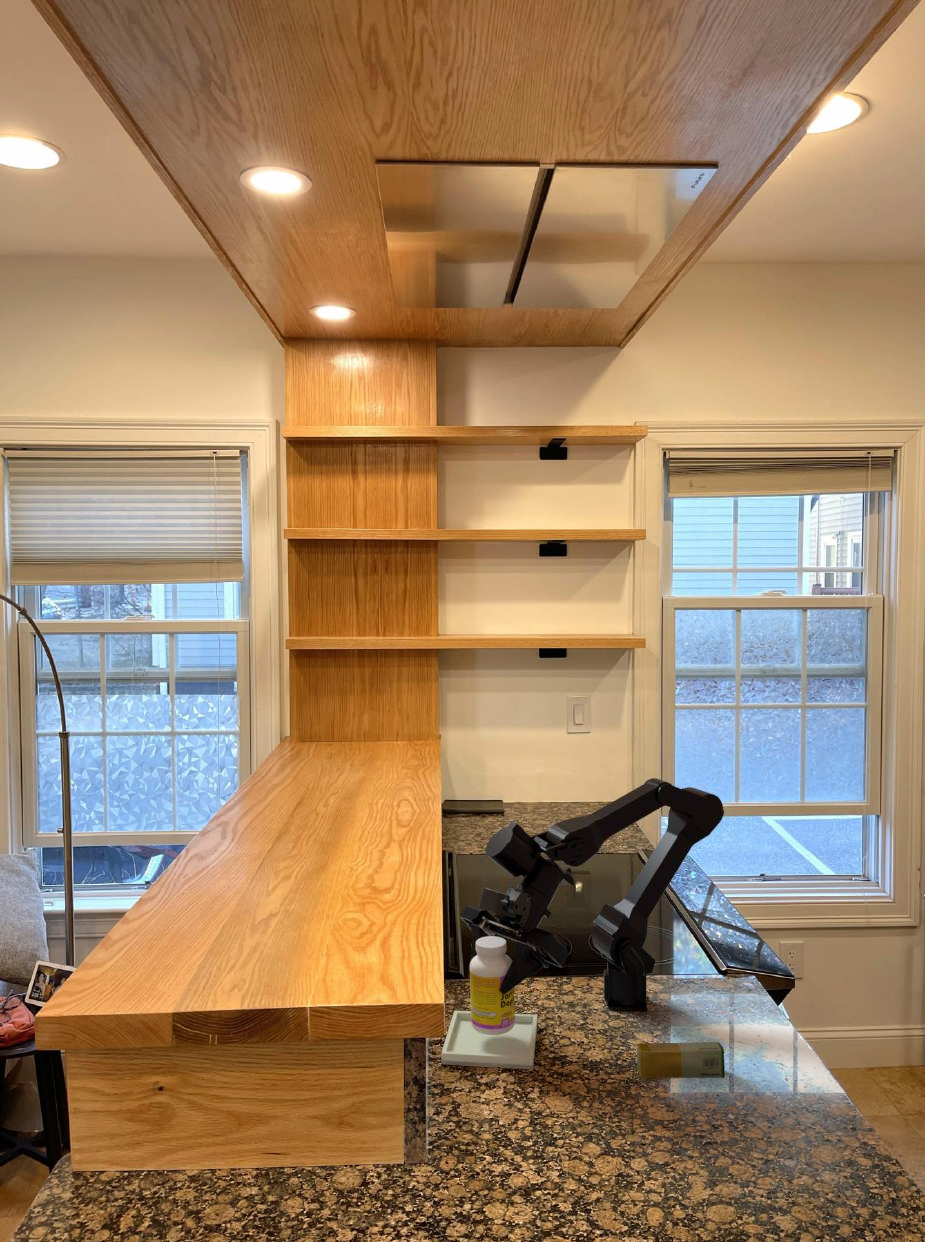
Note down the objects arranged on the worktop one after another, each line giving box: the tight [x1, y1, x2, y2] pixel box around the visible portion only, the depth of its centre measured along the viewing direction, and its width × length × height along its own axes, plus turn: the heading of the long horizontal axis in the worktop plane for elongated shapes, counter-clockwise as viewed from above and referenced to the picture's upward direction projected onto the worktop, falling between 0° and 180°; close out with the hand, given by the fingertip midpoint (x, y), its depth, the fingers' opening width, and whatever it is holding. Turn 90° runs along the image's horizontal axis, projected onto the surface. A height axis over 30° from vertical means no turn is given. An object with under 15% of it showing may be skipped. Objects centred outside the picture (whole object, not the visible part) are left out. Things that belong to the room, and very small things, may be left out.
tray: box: [440, 1010, 538, 1071], centre depth 131 cm, size 13×13×2 cm
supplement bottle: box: [469, 936, 516, 1035], centre depth 131 cm, size 7×7×13 cm
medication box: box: [636, 1041, 726, 1079], centre depth 122 cm, size 12×3×4 cm, turn 90°
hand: (485, 985), depth 130 cm, fingers closed on supplement bottle, 7 cm apart
